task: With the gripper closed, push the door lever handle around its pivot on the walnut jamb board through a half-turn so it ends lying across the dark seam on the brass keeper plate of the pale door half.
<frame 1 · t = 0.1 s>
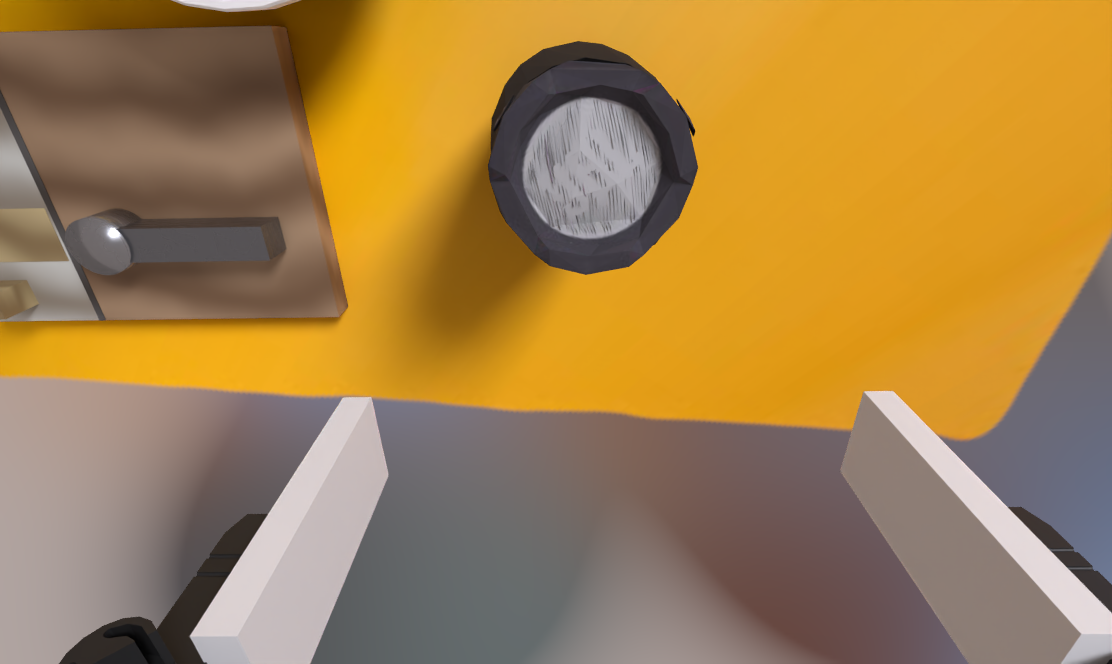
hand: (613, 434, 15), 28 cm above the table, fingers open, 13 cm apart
jamb board: (134, 186, 39), on the table
door lever handle: (178, 240, 37), point 4 cm above the table, hinge at 0.0°
portable speaker: (578, 119, 37), on the table
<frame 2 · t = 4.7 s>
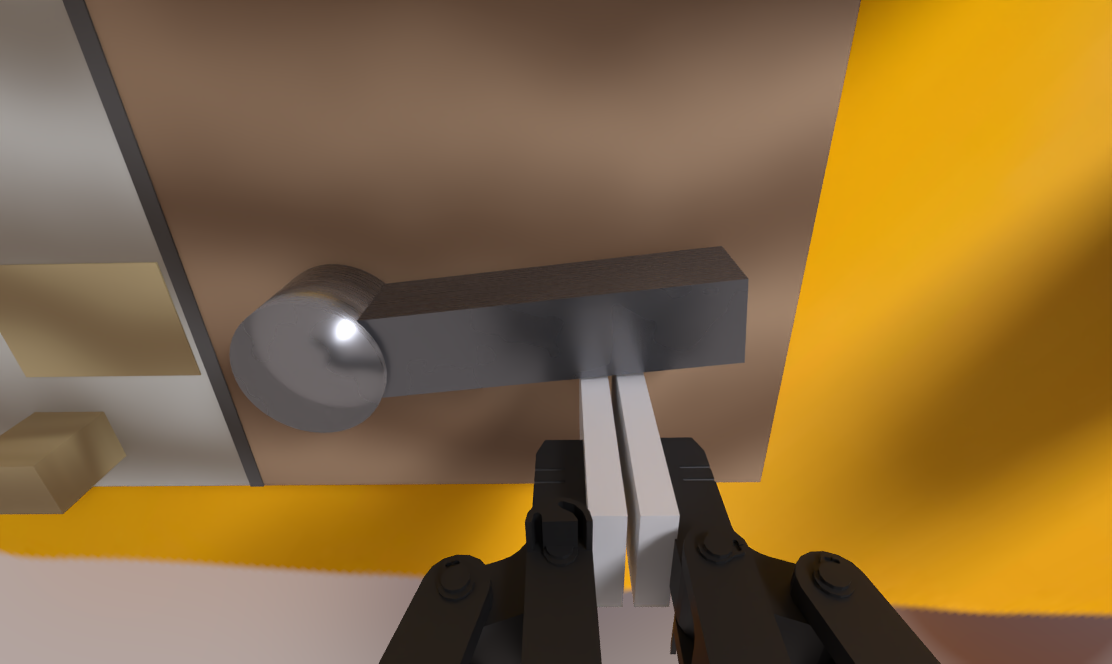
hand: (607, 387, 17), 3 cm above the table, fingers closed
jamb board: (353, 208, 17), on the table
door lever handle: (490, 329, 15), point 4 cm above the table, hinge at 5.8°, touching gripper
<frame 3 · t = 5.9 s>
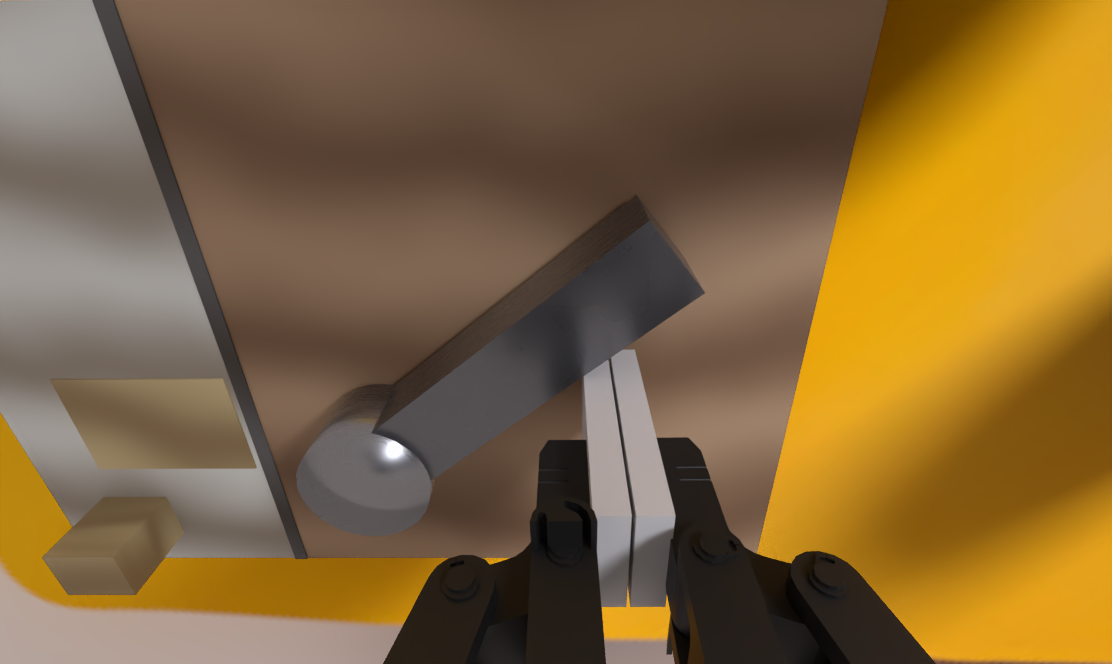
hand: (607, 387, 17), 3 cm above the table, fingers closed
jamb board: (395, 324, 19), on the table
door lever handle: (482, 381, 16), point 4 cm above the table, hinge at 39.1°, touching gripper
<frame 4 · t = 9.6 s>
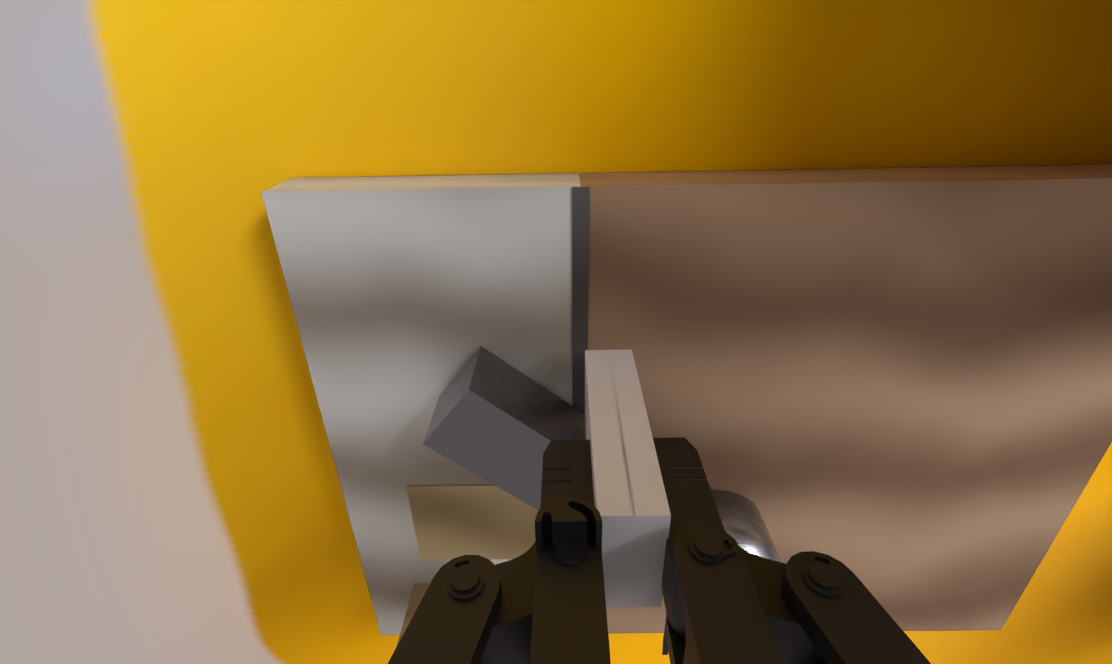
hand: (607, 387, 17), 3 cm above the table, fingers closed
jamb board: (702, 427, 21), on the table
door lever handle: (620, 499, 18), point 4 cm above the table, hinge at 140.8°, touching gripper
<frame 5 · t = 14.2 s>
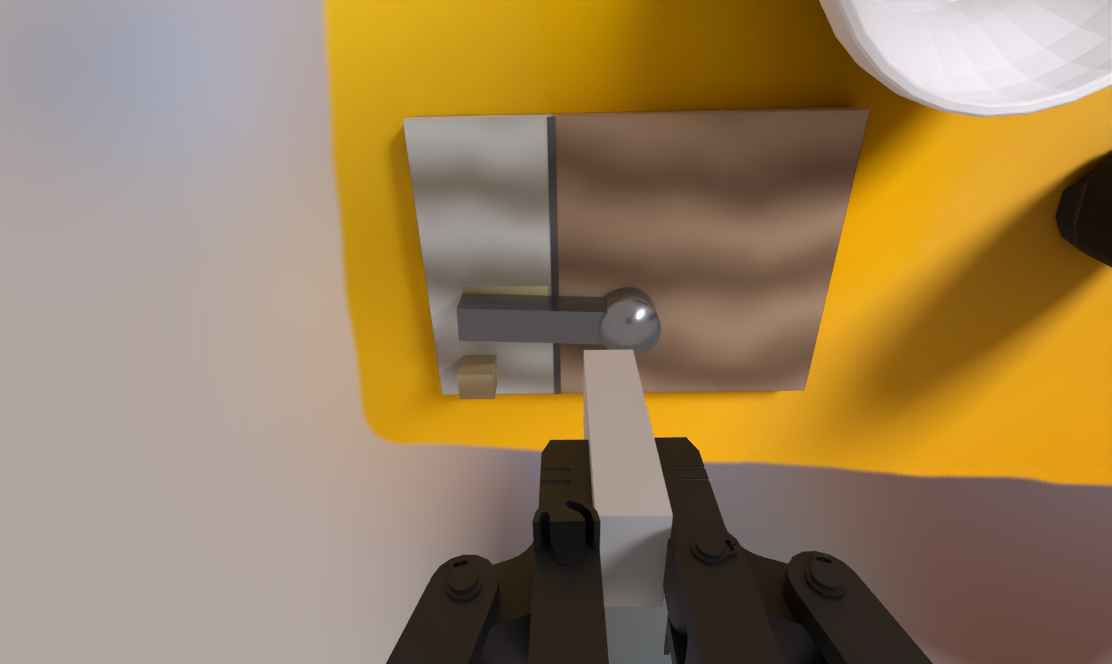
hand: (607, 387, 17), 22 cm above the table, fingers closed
jamb board: (624, 261, 38), on the table
door lever handle: (559, 320, 36), point 4 cm above the table, hinge at 177.4°
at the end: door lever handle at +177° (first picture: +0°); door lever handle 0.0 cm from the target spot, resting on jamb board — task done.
